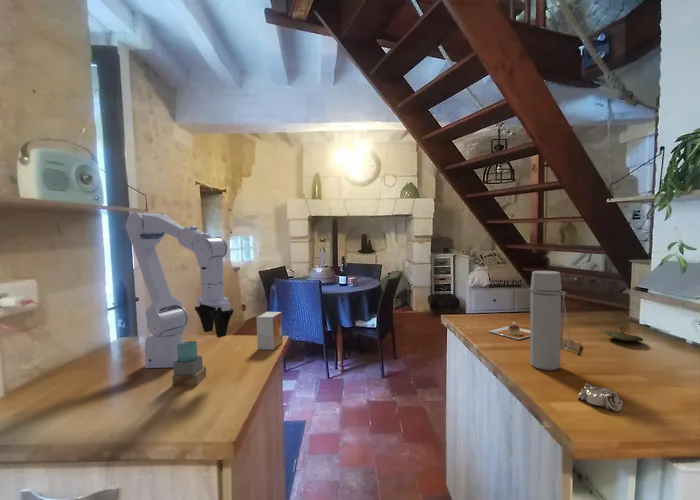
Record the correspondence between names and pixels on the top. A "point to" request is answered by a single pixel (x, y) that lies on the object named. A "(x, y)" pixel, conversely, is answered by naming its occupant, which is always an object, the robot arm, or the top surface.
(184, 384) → the base block
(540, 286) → the water bottle
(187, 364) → the top block
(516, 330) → the dessert
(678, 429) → the top surface
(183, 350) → the teal rounded piece
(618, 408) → the ornament
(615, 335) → the lid
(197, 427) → the top surface
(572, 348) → the shard
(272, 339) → the small box
